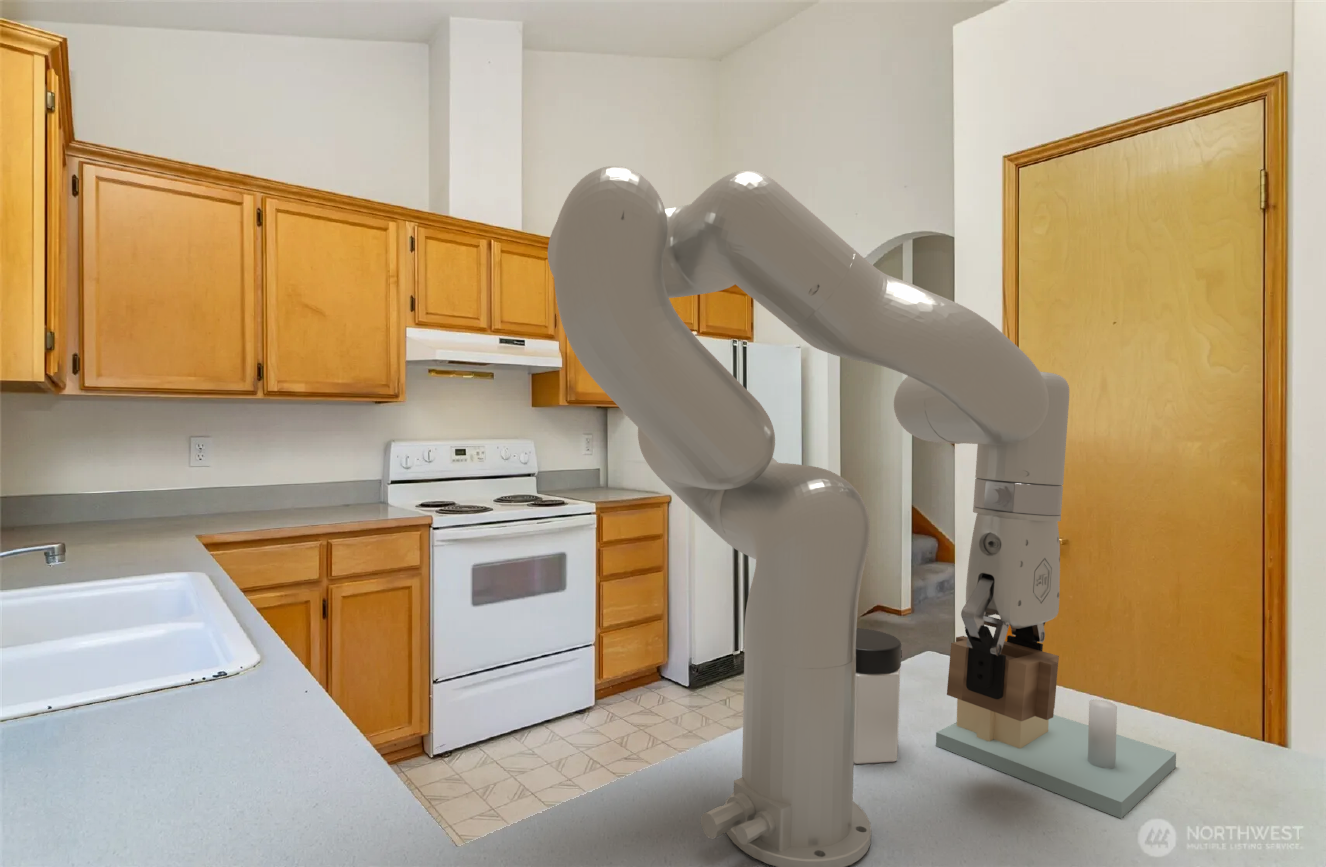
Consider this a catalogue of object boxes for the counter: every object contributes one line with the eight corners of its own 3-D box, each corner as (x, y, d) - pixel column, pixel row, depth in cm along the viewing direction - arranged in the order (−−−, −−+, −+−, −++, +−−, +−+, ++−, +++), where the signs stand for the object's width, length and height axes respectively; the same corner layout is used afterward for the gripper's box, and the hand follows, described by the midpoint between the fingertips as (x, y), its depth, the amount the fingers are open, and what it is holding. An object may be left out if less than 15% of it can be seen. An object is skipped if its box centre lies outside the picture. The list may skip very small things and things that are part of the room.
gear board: (1121, 818, 63) (1123, 736, 63) (936, 745, 77) (937, 678, 77) (1175, 767, 73) (1177, 696, 73) (1003, 710, 87) (1004, 651, 87)
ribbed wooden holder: (1033, 725, 61) (1037, 668, 61) (937, 691, 68) (941, 640, 68) (1065, 712, 65) (1070, 658, 65) (972, 681, 72) (976, 633, 72)
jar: (917, 751, 76) (920, 641, 76) (874, 773, 71) (876, 656, 70) (848, 723, 83) (850, 622, 83) (804, 741, 78) (806, 634, 77)
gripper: (1015, 507, 58) (1000, 719, 58) (1094, 505, 69) (1082, 684, 69) (932, 496, 64) (918, 689, 64) (1017, 497, 75) (1005, 661, 75)
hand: (1003, 685), depth 66 cm, fingers closed on ribbed wooden holder, 7 cm apart
